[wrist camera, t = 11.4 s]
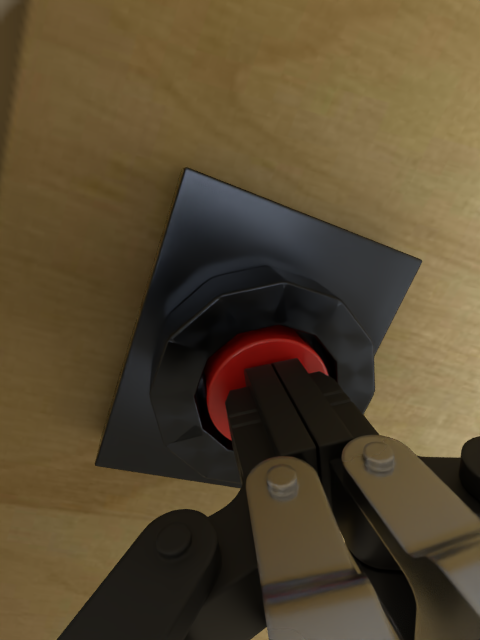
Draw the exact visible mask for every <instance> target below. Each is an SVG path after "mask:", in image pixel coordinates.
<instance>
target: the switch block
mask: <svg viewBox="0 0 480 640" xmlns="http://www.w3.org/2000/svg"><path fill="white" fill-rule="evenodd" d="M421 263H422V260H421V259H419V258H416V257H413V256H411V255H408V254H406V253H403V252H401V251H398V250H396V249H393V248H391V247H388V246H386V245H383V244H380V243H378V242H375V241H373V240H370V239H368V238H365V237H363V236H360V235H358V234H355V233H353V232H350V231H348V230H345V229H342V228H340V227H337V226H335V225H332V224H330V223H327V222H325V221H322V220H320V219H317V218H315V217H312V216H309V215H307V214H304V213H302V212H299V211H297V210H294V209H292V208H289V207H287V206H284V205H282V204H279V203H277V202H274V201H271V200H269V199H266V198H264V197H261V196H259V195H256V194H254V193H251V192H249V191H246V190H244V189H241V188H239V187H236V186H233V185H231V184H228V183H226V182H223V181H221V180H218V179H216V178H213V177H211V176H208V175H206V174H203V173H200V172H198V171H195V170H193V169H190V168H188V167H185V168H182V170H181V173H180V177H179V180H178V183H177V187H176V190H175V193H174V197H173V200H172V203H171V207H170V210H169V213H168V217H167V220H166V223H165V226H164V230H163V233H162V236H161V240H160V243H159V246H158V250H157V253H156V256H155V260H154V263H153V266H152V270H151V273H150V276H149V280H148V283H147V286H146V290H145V293H144V296H143V299H142V303H141V306H140V309H139V313H138V316H137V319H136V323H135V326H134V329H133V333H132V336H131V339H130V343H129V346H128V349H127V353H126V356H125V359H124V363H123V366H122V369H121V372H120V376H119V379H118V382H117V386H116V389H115V392H114V396H113V399H112V402H111V406H110V409H109V412H108V416H107V419H106V422H105V426H104V429H103V432H102V436H101V440H100V444H99V449H98V453H97V457H96V461H95V466H99V467H106V468H112V469H119V470H125V471H132V472H138V473H145V474H151V475H158V476H164V477H171V478H177V479H184V480H190V481H197V482H203V483H210V484H216V485H223V486H229V487H236V488H241V487H242V483H241V479H240V475H239V471H238V467H237V463H236V459H235V455H234V451H233V446H232V441H231V440H229V439H228V438H226V437H225V436H224V435H223V434H221V432H220V431H219V430H218V429H217V428H216V427H215V425H214V424H213V422H212V420H211V418H210V416H209V412H208V408H207V403H206V397H205V392H204V386H203V381H202V374H203V372H204V369H205V366H206V364H207V361H208V359H209V358H210V357H211V356H213V355H214V354H215V353H216V352H217V351H218V350H220V349H221V348H222V347H223V346H224V345H226V344H227V343H228V342H229V341H230V340H232V339H233V338H234V337H235V336H236V335H237V334H241V333H245V332H250V331H254V330H258V329H263V328H267V327H272V326H276V325H280V326H284V327H287V328H291V329H294V330H297V331H298V332H299V333H300V334H301V335H302V336H303V337H304V338H305V339H306V341H307V342H308V343H309V344H310V345H311V347H312V348H313V349H314V350H315V351H316V353H317V354H318V355H319V356H320V358H321V359H322V360H323V362H324V364H325V366H326V368H327V371H328V375H329V377H331V378H333V379H335V381H336V382H337V383H338V384H339V386H340V387H341V388H342V389H343V392H345V393H346V394H347V396H348V397H349V398H350V399H351V402H353V403H354V404H355V405H356V407H357V408H358V409H359V410H360V412H361V413H362V414H364V412H365V410H366V409H367V407H368V405H369V403H370V401H371V399H372V397H373V395H374V392H375V375H374V356H375V354H376V352H377V350H378V348H379V346H380V344H381V342H382V340H383V338H384V336H385V334H386V332H387V330H388V328H389V326H390V324H391V322H392V320H393V318H394V316H395V314H396V312H397V310H398V308H399V306H400V304H401V302H402V300H403V299H404V297H405V295H406V293H407V291H408V289H409V287H410V285H411V283H412V281H413V279H414V277H415V275H416V273H417V271H418V269H419V267H420V265H421Z"/></svg>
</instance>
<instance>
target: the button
mask: <svg viewBox="0 0 480 640" xmlns="http://www.w3.org/2000/svg"><path fill="white" fill-rule="evenodd" d="M294 358H298V359H299V361H300V362H301V364H302V365H303V366H304V368H305V369H306V371H307V372H308V373H313V372H318V371H320V372H322V373H324V374H326V375H327V376H329V375H328V371H327V368H326V366H325V364H324V362H323V360H322V359H321V358H320V356H319V355H318V354H317V353H316V351H315V350H314V349H313V348H312V347H311V345H310V344H309V343H308V342H307V341H306V339H305V338H304V337H303V336H302V335H301V334H300V333H299V332H298V331H297V330H294V329H291V328H287V327H284V326H280V325H276V326H272V327H267V328H263V329H258V330H254V331H250V332H245V333H241V334H237V335H236V336H235V337H234V338H233V339H232V340H230V341H229V342H228V343H227V344H226V345H224V346H223V347H222V348H221V349H220V350H218V351H217V352H216V353H215V354H214V355H213V356H211V357H210V358H209V359H208V361H207V364H206V366H205V369H204V372H203V374H202V381H203V386H204V392H205V397H206V403H207V408H208V412H209V416H210V418H211V420H212V422H213V424H214V425H215V427H216V428H217V429H218V430H219V431H220V432H221V434H223V435H224V436H225V437H226V438H228V439H229V440H231V435H230V429H229V423H228V417H227V412H226V406H225V402H226V399H227V396H228V394H229V391H230V390H234V389H239V388H244V387H246V383H245V376H244V369H246V368H251V367H256V366H261V365H265V364H271V363H275V362H279V361H284V360H289V359H294ZM231 441H232V440H231Z"/></svg>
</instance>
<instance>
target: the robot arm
mask: <svg viewBox="0 0 480 640" xmlns="http://www.w3.org/2000/svg"><path fill="white" fill-rule="evenodd" d="M244 376H245V383H246V387H244V388H239V389H234V390H230V391H229V394H228V396H227V399H226V402H225V406H226V412H227V417H228V423H229V429H230V435H231V440H232V446H233V451H234V455H235V459H236V463H237V467H238V471H239V475H240V479H241V483H242V487H241V489H240V491H239V493H238V494H237V496H236V497H235V498H234V499H233V501H232V502H230V503H229V504H228V505H227V506H226V507H224V508H223V509H221V510H219V511H218V512H216V513H214V514H213V515H211V516H209V517H207V516H206V515H204V514H203V513H201V512H199V511H195V510H190V509H179V510H174V511H171V512H168V513H165V514H163V515H161V516H160V517H158V518H157V519H155V520H154V521H152V522H151V523H150V524H149V525H148V526H147V527H146V528H145V529H144V530H143V532H142V533H141V534H140V535H139V537H138V538H137V539H136V540H135V542H134V543H133V544H132V545H131V547H130V548H129V549H128V550H127V552H126V553H125V554H124V556H123V557H122V558H121V559H120V561H119V562H118V563H117V564H116V566H115V567H114V568H113V569H112V571H111V572H110V573H109V574H108V576H107V577H106V578H105V580H104V581H103V582H102V583H101V585H100V586H99V587H98V588H97V590H96V591H95V592H94V593H93V595H92V596H91V597H90V598H89V600H88V601H87V602H86V603H85V605H84V606H83V607H82V609H81V610H80V611H79V612H78V614H77V615H76V616H75V617H74V619H73V620H72V621H71V622H70V624H69V625H68V626H67V627H66V629H65V630H64V631H63V633H62V634H61V635H60V636H59V638H58V639H57V640H250V639H252V638H253V637H254V636H255V635H257V634H258V633H259V632H261V631H262V630H263V629H265V628H266V627H267V630H268V637H269V640H480V436H479V437H475V438H472V439H470V440H468V441H467V442H466V443H465V444H464V446H463V447H462V451H461V458H445V457H421V456H416V455H415V454H414V453H413V452H412V451H411V450H410V449H409V448H408V447H407V446H406V445H404V444H403V443H401V442H399V441H397V440H395V439H393V438H390V437H386V436H381V435H379V434H378V433H377V431H376V430H375V429H374V428H373V426H372V425H371V424H370V423H369V421H368V420H367V419H366V418H365V417H364V415H363V414H362V413H361V412H360V410H359V409H358V408H357V407H356V405H355V404H354V403H353V402H351V399H350V398H349V397H348V396H347V394H346V393H345V392H343V389H342V388H341V387H340V386H339V384H338V383H337V382H336V381H335V379H333V378H331V377H329V376H327V375H326V374H324V373H322V372H320V371H318V372H313V373H308V372H307V371H306V369H305V368H304V366H303V365H302V364H301V362H300V361H299V359H298V358H294V359H289V360H284V361H279V362H275V363H271V364H265V365H261V366H256V367H251V368H246V369H244ZM340 532H341V533H340ZM341 534H342V535H341ZM342 536H343V538H344V540H345V543H344V540H343V538H342Z"/></svg>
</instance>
